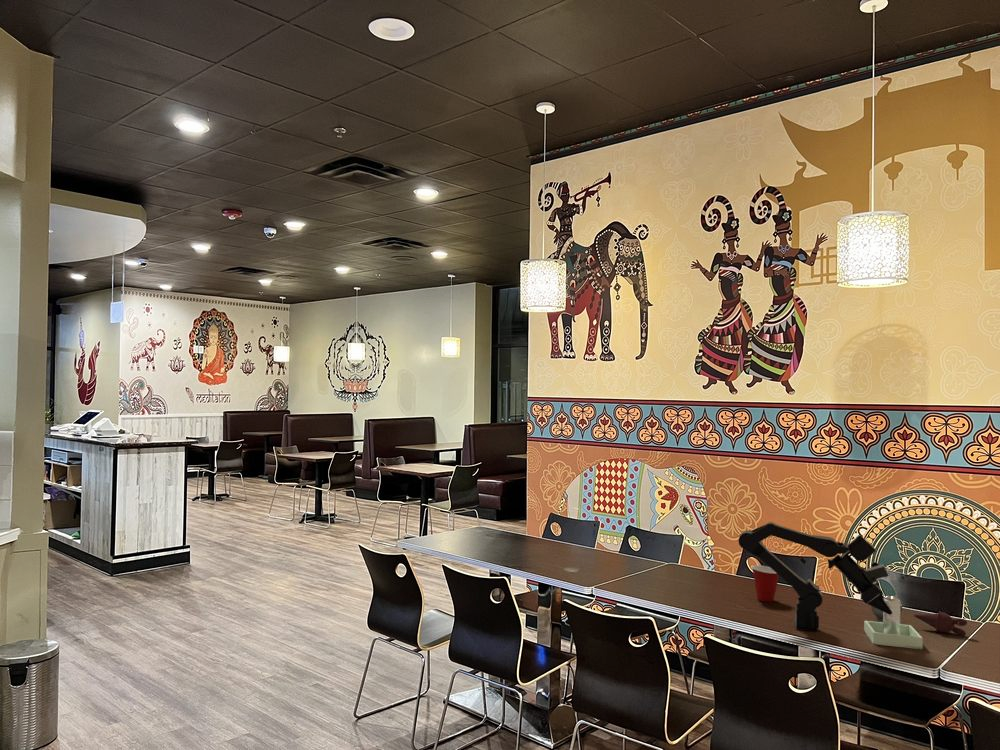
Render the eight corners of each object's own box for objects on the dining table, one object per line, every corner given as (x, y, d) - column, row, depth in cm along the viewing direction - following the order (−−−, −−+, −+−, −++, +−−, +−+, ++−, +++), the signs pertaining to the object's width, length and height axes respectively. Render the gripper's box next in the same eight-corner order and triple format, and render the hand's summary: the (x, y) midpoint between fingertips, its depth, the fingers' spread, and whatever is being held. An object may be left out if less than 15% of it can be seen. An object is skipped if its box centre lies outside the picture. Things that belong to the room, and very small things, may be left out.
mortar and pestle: (906, 623, 249) (906, 588, 249) (897, 629, 242) (897, 592, 243) (871, 616, 257) (871, 581, 257) (861, 621, 250) (862, 586, 251)
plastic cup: (783, 604, 269) (784, 572, 269) (753, 602, 271) (753, 569, 271) (778, 597, 279) (779, 565, 280) (749, 595, 281) (749, 563, 282)
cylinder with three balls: (889, 640, 227) (888, 598, 228) (880, 635, 232) (879, 594, 233) (903, 640, 228) (903, 598, 228) (894, 635, 232) (894, 594, 233)
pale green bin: (873, 644, 225) (873, 632, 225) (864, 631, 238) (864, 620, 238) (922, 649, 221) (922, 637, 222) (910, 636, 234) (910, 625, 235)
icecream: (912, 610, 242) (965, 624, 232) (917, 601, 247) (969, 613, 238) (911, 629, 243) (964, 643, 234) (915, 619, 249) (967, 632, 239)
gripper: (874, 560, 225) (914, 601, 220) (869, 550, 242) (906, 588, 237) (845, 582, 227) (884, 623, 223) (842, 571, 245) (879, 608, 240)
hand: (889, 610), depth 231 cm, fingers open, 9 cm apart
